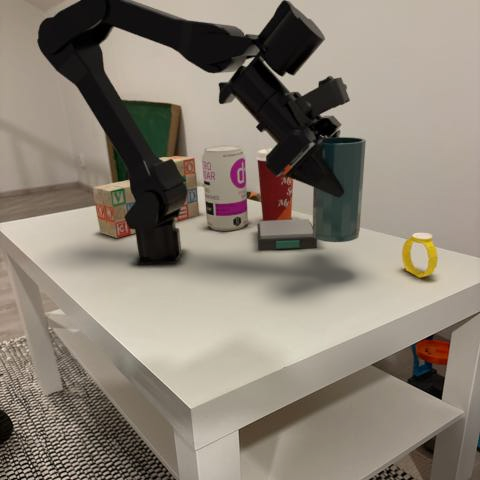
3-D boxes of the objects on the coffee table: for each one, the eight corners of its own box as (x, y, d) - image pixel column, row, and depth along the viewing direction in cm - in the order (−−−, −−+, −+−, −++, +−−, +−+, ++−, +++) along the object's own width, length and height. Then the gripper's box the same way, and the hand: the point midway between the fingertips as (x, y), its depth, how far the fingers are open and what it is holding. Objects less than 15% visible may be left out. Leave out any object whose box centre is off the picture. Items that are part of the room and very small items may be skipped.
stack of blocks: (117, 239, 98) (106, 174, 93) (99, 233, 102) (88, 171, 97) (200, 214, 111) (195, 156, 106) (181, 210, 115) (176, 154, 110)
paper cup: (293, 228, 99) (293, 153, 93) (255, 227, 100) (252, 154, 94) (297, 217, 106) (298, 146, 100) (261, 217, 107) (259, 147, 101)
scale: (258, 251, 88) (258, 237, 87) (257, 233, 97) (257, 220, 96) (317, 248, 87) (317, 234, 86) (310, 231, 97) (310, 218, 96)
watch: (396, 269, 77) (399, 231, 74) (411, 266, 78) (415, 228, 75) (423, 282, 72) (428, 242, 69) (439, 279, 73) (444, 239, 70)
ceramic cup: (322, 244, 70) (325, 145, 64) (306, 231, 76) (307, 139, 70) (366, 239, 71) (374, 141, 65) (347, 226, 77) (352, 135, 71)
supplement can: (255, 222, 104) (252, 145, 97) (233, 233, 98) (228, 152, 91) (222, 218, 108) (217, 144, 101) (199, 229, 102) (192, 150, 95)
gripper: (290, 53, 57) (383, 158, 58) (329, 54, 72) (402, 136, 73) (229, 128, 63) (314, 222, 64) (277, 114, 78) (344, 189, 79)
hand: (347, 189), depth 70 cm, fingers closed on ceramic cup, 7 cm apart
